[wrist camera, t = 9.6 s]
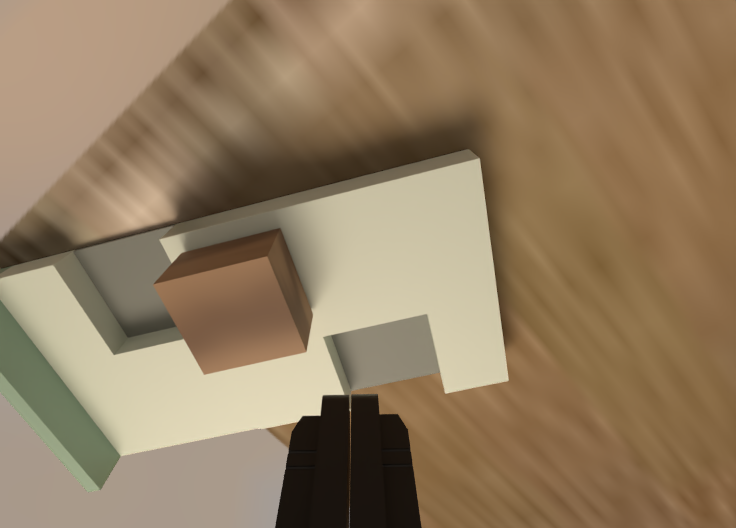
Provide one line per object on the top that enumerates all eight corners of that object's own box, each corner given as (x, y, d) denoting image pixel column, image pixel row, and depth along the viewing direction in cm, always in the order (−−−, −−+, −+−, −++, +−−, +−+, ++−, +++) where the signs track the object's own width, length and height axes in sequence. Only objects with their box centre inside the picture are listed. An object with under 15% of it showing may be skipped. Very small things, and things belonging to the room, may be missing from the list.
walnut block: (183, 250, 24) (152, 284, 20) (281, 225, 23) (267, 256, 20) (224, 332, 27) (204, 374, 23) (313, 311, 26) (306, 352, 22)
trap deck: (0, 269, 27) (-72, 310, 23) (468, 148, 24) (493, 169, 20) (123, 435, 34) (87, 492, 30) (497, 357, 31) (521, 407, 27)
